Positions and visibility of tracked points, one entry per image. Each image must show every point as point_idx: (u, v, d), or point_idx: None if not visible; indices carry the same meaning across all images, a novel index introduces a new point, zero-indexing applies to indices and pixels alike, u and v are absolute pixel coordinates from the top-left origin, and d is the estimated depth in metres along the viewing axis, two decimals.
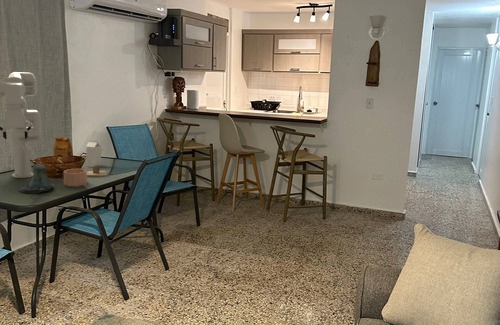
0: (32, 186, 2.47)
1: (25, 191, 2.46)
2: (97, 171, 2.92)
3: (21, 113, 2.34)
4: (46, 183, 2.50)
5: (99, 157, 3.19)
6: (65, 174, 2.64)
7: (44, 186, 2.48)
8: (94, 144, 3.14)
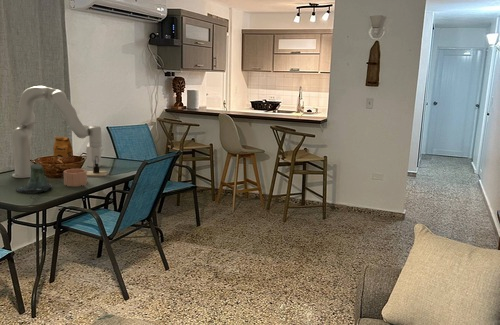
0: (29, 186, 2.46)
1: (22, 191, 2.46)
2: None
3: None
4: (43, 183, 2.49)
5: None
6: (65, 174, 2.64)
7: (41, 186, 2.47)
8: None
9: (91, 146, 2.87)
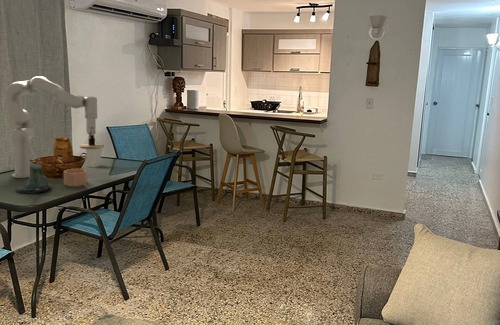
0: (28, 186, 2.46)
1: (21, 191, 2.46)
2: None
3: None
4: (42, 183, 2.49)
5: (99, 157, 3.19)
6: (65, 174, 2.64)
7: (40, 186, 2.47)
8: None
9: (87, 117, 2.79)
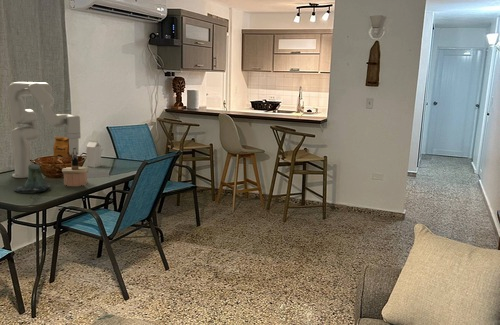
0: (26, 186, 2.46)
1: (19, 191, 2.46)
2: (76, 167, 2.67)
3: None
4: (40, 183, 2.48)
5: (99, 157, 3.19)
6: (65, 174, 2.64)
7: (38, 186, 2.47)
8: (94, 144, 3.14)
9: (69, 137, 2.62)
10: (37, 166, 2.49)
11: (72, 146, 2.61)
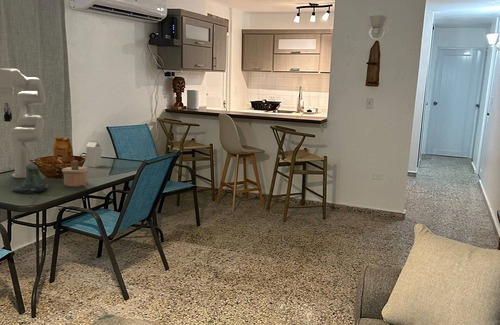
0: (24, 186, 2.46)
1: (17, 191, 2.46)
2: (76, 167, 2.67)
3: None
4: (38, 183, 2.48)
5: (99, 157, 3.19)
6: (65, 174, 2.64)
7: (35, 186, 2.47)
8: (94, 144, 3.14)
9: (0, 92, 2.49)
10: (35, 166, 2.48)
11: (3, 101, 2.49)
